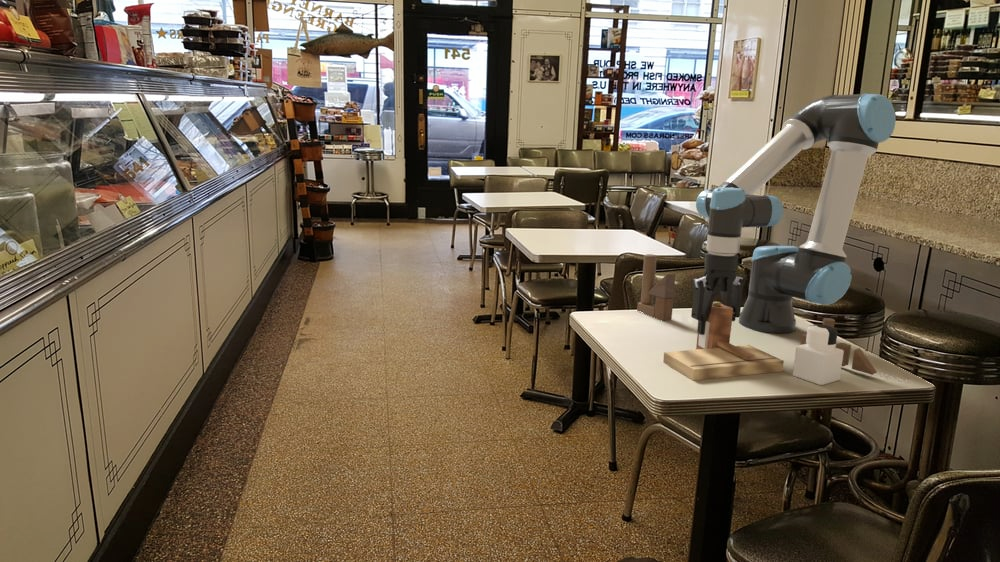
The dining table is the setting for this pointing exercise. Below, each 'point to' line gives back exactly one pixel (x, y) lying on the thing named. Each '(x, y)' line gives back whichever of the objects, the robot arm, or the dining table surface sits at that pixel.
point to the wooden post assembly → (656, 291)
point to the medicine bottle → (819, 356)
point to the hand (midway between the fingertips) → (712, 345)
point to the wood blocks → (859, 358)
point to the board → (721, 363)
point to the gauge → (722, 331)
